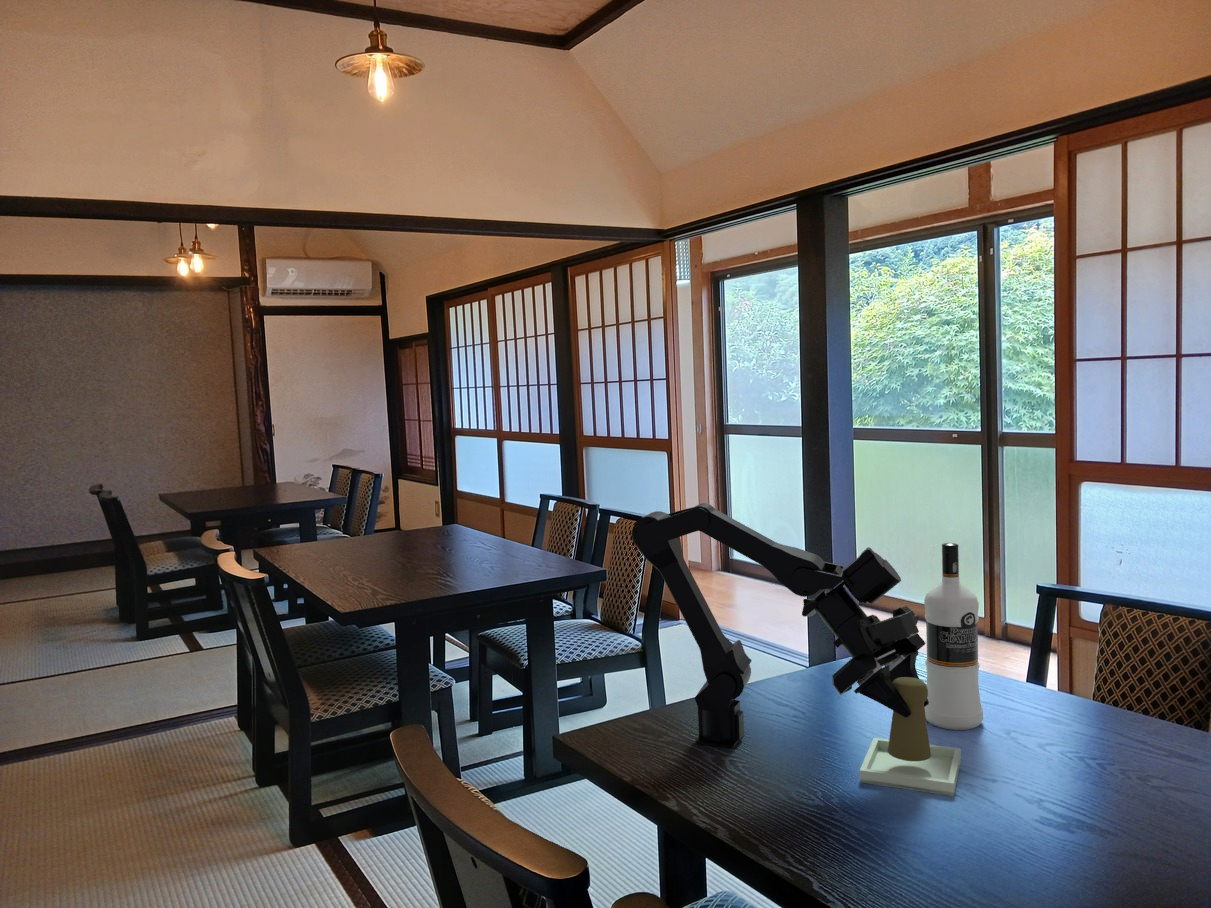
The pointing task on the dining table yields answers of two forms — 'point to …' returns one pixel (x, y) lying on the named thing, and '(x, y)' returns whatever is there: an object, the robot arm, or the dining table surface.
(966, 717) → the vodka
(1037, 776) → the dining table surface
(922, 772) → the tray
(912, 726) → the cork
